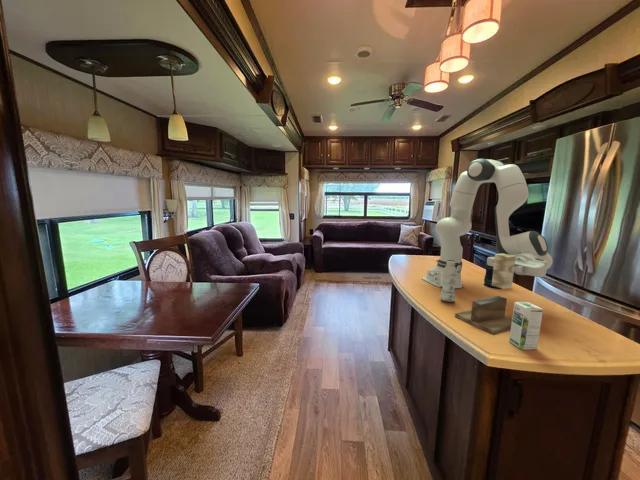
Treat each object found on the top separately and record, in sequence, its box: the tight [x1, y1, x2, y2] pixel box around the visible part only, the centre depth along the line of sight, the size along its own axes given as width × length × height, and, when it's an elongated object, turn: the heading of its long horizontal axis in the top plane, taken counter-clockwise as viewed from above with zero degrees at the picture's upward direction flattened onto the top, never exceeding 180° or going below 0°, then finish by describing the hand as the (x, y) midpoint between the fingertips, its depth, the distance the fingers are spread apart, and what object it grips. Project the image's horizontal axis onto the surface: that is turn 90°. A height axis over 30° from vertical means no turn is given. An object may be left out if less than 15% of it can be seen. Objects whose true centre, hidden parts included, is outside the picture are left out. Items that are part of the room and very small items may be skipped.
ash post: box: [492, 253, 516, 290], centre depth 110 cm, size 5×5×13 cm
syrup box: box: [508, 301, 544, 351], centre depth 91 cm, size 6×6×14 cm
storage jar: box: [483, 261, 503, 290], centre depth 154 cm, size 10×10×15 cm
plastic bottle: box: [440, 260, 458, 303], centre depth 130 cm, size 6×7×20 cm
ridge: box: [454, 295, 512, 335], centre depth 110 cm, size 16×18×9 cm
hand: (502, 267), depth 109 cm, fingers closed on ash post, 5 cm apart
